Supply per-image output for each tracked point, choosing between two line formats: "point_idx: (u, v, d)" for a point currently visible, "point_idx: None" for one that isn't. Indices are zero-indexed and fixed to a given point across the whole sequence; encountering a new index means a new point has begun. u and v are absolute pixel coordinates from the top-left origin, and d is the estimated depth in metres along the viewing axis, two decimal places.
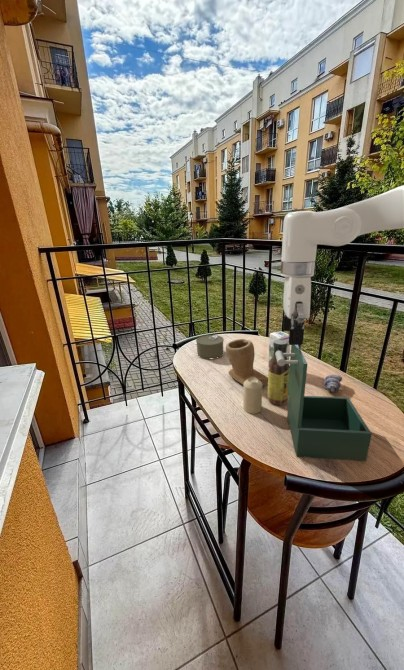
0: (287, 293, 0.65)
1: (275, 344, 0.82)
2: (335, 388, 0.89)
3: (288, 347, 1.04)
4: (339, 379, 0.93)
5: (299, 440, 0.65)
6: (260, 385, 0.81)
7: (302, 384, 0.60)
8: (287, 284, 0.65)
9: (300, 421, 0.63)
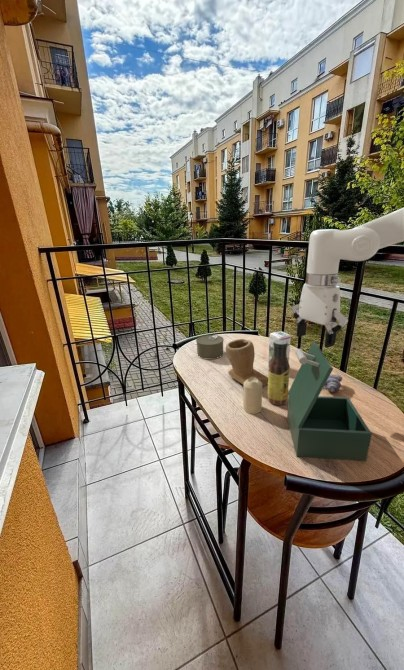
0: (321, 302, 0.71)
1: (275, 344, 0.82)
2: (335, 388, 0.89)
3: (288, 347, 1.04)
4: (339, 379, 0.93)
5: (299, 440, 0.65)
6: (260, 385, 0.81)
7: (320, 387, 0.60)
8: (320, 294, 0.71)
9: (303, 422, 0.63)
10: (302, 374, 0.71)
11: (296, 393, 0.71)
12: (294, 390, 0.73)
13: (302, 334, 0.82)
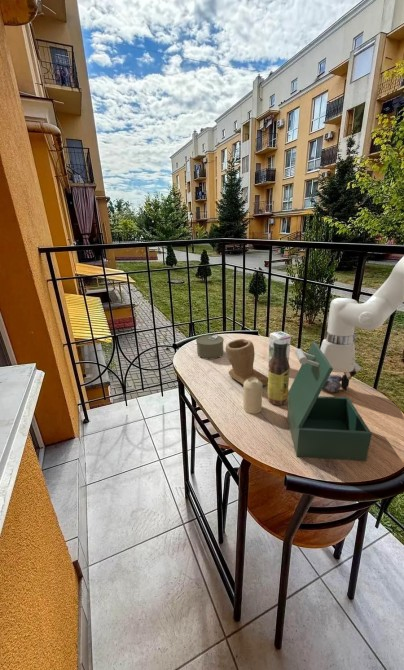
0: (349, 356, 0.87)
1: (275, 344, 0.82)
2: (335, 388, 0.89)
3: (288, 347, 1.04)
4: (339, 379, 0.93)
5: (299, 440, 0.65)
6: (260, 385, 0.81)
7: (320, 387, 0.60)
8: (348, 350, 0.86)
9: (303, 422, 0.63)
10: (302, 374, 0.71)
11: (296, 393, 0.71)
12: (294, 390, 0.73)
13: None
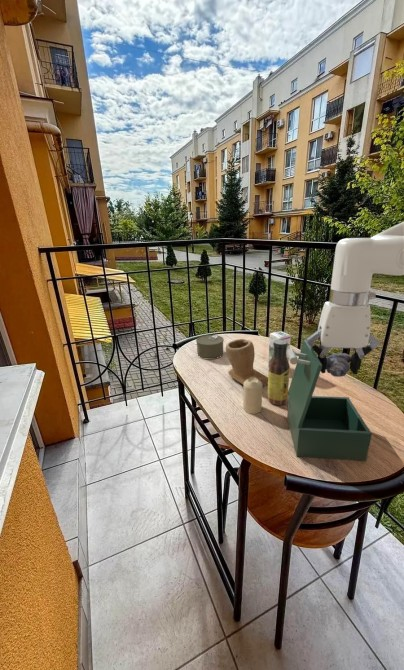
0: (362, 324, 0.60)
1: (275, 344, 0.82)
2: (341, 371, 0.63)
3: (288, 347, 1.04)
4: (347, 359, 0.66)
5: (299, 440, 0.65)
6: (260, 385, 0.81)
7: (312, 385, 0.60)
8: (361, 315, 0.60)
9: (302, 421, 0.63)
10: (297, 373, 0.71)
11: (294, 393, 0.71)
12: (292, 390, 0.73)
13: None
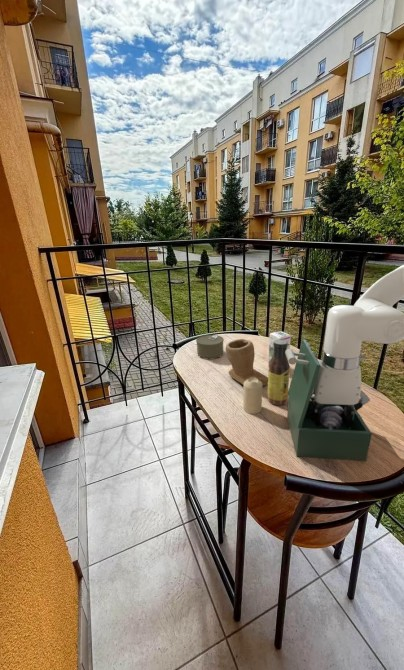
0: (353, 384, 0.64)
1: (275, 344, 0.82)
2: (334, 427, 0.66)
3: (288, 347, 1.04)
4: (340, 413, 0.70)
5: (299, 440, 0.65)
6: (260, 385, 0.81)
7: (311, 385, 0.60)
8: (352, 376, 0.63)
9: (301, 421, 0.63)
10: (297, 373, 0.71)
11: (294, 393, 0.71)
12: (292, 390, 0.73)
13: None
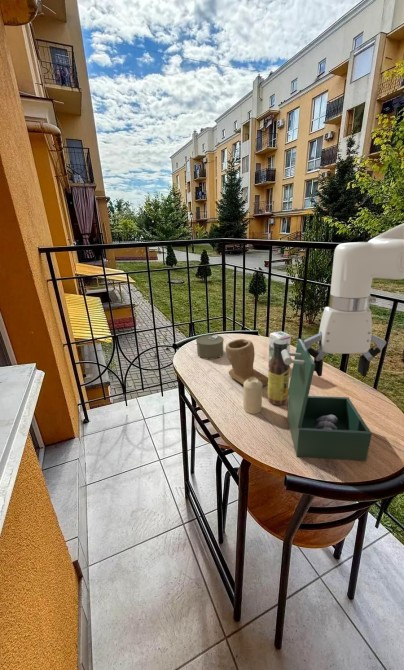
0: (363, 329, 0.59)
1: (275, 344, 0.82)
2: None
3: (288, 347, 1.04)
4: (334, 421, 0.72)
5: (299, 440, 0.65)
6: (260, 385, 0.81)
7: (307, 384, 0.60)
8: (361, 320, 0.59)
9: (301, 421, 0.63)
10: (295, 373, 0.71)
11: (293, 393, 0.71)
12: (291, 390, 0.73)
13: None
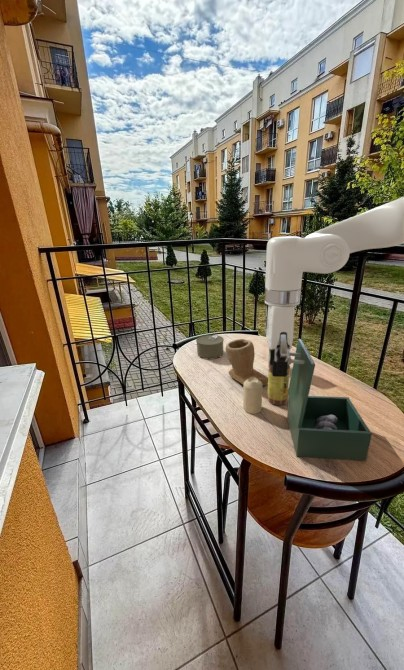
0: None
1: None
2: None
3: None
4: (334, 421, 0.72)
5: (299, 440, 0.65)
6: (260, 385, 0.81)
7: (307, 384, 0.60)
8: None
9: (301, 421, 0.63)
10: (295, 373, 0.71)
11: (293, 393, 0.71)
12: (291, 390, 0.73)
13: None
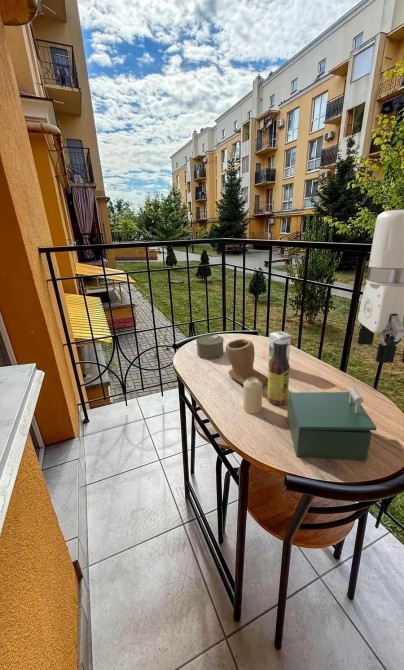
0: None
1: (275, 344, 0.82)
2: None
3: (288, 347, 1.04)
4: None
5: (299, 440, 0.65)
6: (260, 385, 0.81)
7: (352, 427, 0.62)
8: None
9: (307, 428, 0.64)
10: (323, 399, 0.73)
11: (306, 403, 0.72)
12: (303, 399, 0.74)
13: None
